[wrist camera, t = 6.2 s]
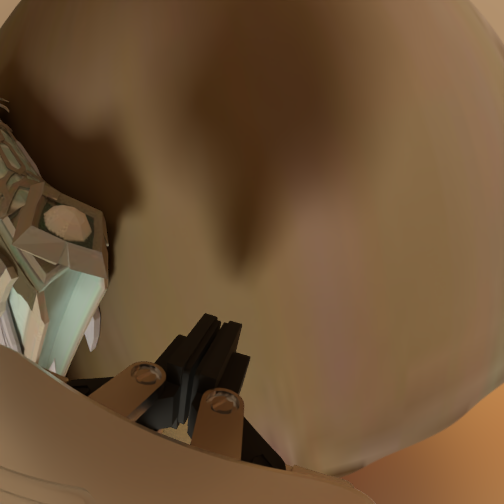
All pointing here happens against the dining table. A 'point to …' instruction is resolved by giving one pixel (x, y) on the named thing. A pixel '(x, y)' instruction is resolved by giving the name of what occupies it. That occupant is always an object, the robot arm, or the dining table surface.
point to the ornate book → (47, 263)
